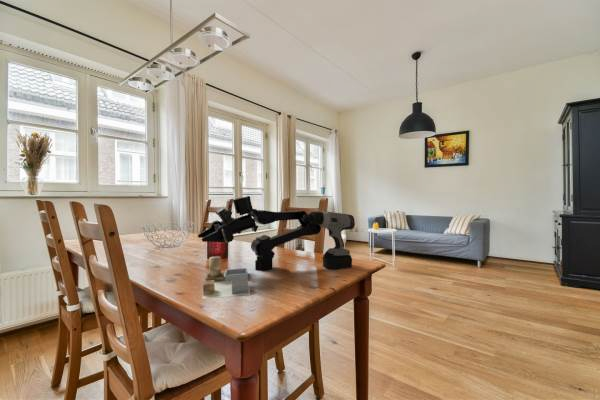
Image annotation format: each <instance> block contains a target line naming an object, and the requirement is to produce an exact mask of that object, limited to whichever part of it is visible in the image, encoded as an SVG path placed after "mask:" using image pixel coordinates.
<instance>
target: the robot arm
mask: <svg viewBox="0 0 600 400" xmlns="http://www.w3.org/2000/svg"><path fill="white" fill-rule="evenodd" d="M232 203H233V206H234V209H235V213H236V214H239V217H236V218H234V217H232V215H233V212H232V210H231V209H226V208H225V207H220V208H219V209H218V210H216V211H215V214H216V215H217V216H218V217H219V218H220V219H221V221H220V220H214V221H212V222H211V223H210V226H209V227H208V228H207V229H205V230H204V231H202V232H200V233H199V234H197V238H199V239H201V241H202V242H205V243H206V242H207V243H210V242H211V243H225V244H226V243H231V242H233V240H234V238H235V237H234V235H236V234H238V235H240V234H241V233H243V232H245V231H247V230H250V229H251V231H252V232H254V233H257V230H258V229H259V226H258V225H257V224H260V225H268V224H272V223H275V222H279V221H295V220H297V221H298V222H299V224H300V225H299V226H298V227H296V228H292V229H290V230H288V231H284V232H282V233H280V234H277V235H273V236H271V237H270V236H269V235H266V234H263V235H261V236H257V237H255V239H253V240H252V241H251V244H250V248H251V251H252V252H253V253H254V254H255V256H256V260H255V261H254V264H255V266H254V267H255V268H254V270H255V271H260V272H262V271H263V272H266V271H271V270H273V259H274V257H275V252H274V249H275V247H278V246H281V245H284V244H286V243H288V242H290V241H293V240H297V239H299V238H301V237H302V238H303V237H305V236H306V237H307V236H314V235H319V233H320V232H321V230H322V227H321V226H320V225H318V224H311V223H310V221H307V220H304V219H303V215H308V214H309V213H307V212H306V211H305V210H292V211H291V210H289V211H288V210H287V211H272V210H271V211H269V210H264V209H263V210H262V209H257V208H254V207H253V204H252V200H251V196H250V195H246V196H243V197H242V196H241V197H237V198H234V199H232Z"/></svg>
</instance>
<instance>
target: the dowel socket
mask: <svg viewBox="0 0 600 400" xmlns="http://www.w3.org/2000/svg"><path fill="white" fill-rule="evenodd" d="M224 274H225V271H223V272H222V271H221V277H210V278H209V272H208V273H207V274H206V277H205V281H208V280H214V282H219V281H224Z"/></svg>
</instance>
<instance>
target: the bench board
mask: <svg viewBox="0 0 600 400" xmlns="http://www.w3.org/2000/svg"><path fill="white" fill-rule="evenodd" d="M249 295H251V291H250V285H249V282H248V293H241V294H232V281H225V273H224V281H219V282H214V294H211V295H202V298H201V299H202V300H206V299H216V298H225V297H226V298H229V297H237V296H249Z"/></svg>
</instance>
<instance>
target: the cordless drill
mask: <svg viewBox="0 0 600 400" xmlns="http://www.w3.org/2000/svg"><path fill="white" fill-rule="evenodd" d="M307 214H308V215H303V219H304V220H307V221H310V223H311V224H318V225H320V226H321V228H323V229H327V231H328V236H329V237H331V238H332V239H333V242H334V244H335V245H334V247H333V248H332V247H331V248H328V249H327V250H326V251H325V252H324V254H323V256H322V266H323V268H324V269H326V270H329V271H337V270H344V269H345V270H346V269H352V268H353V258H352V255H351V254H350V253H351V252H350V250H349V249H347V248H345V242H344V240H343V237H342V231H344V230H354V228H355V225H356V222H355V217H354V216H353V215H352V214H349V213H348V214H347V213H343V212H342V213H341V212H331V211H313V210H312V211H311V212H310V213H307Z"/></svg>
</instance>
